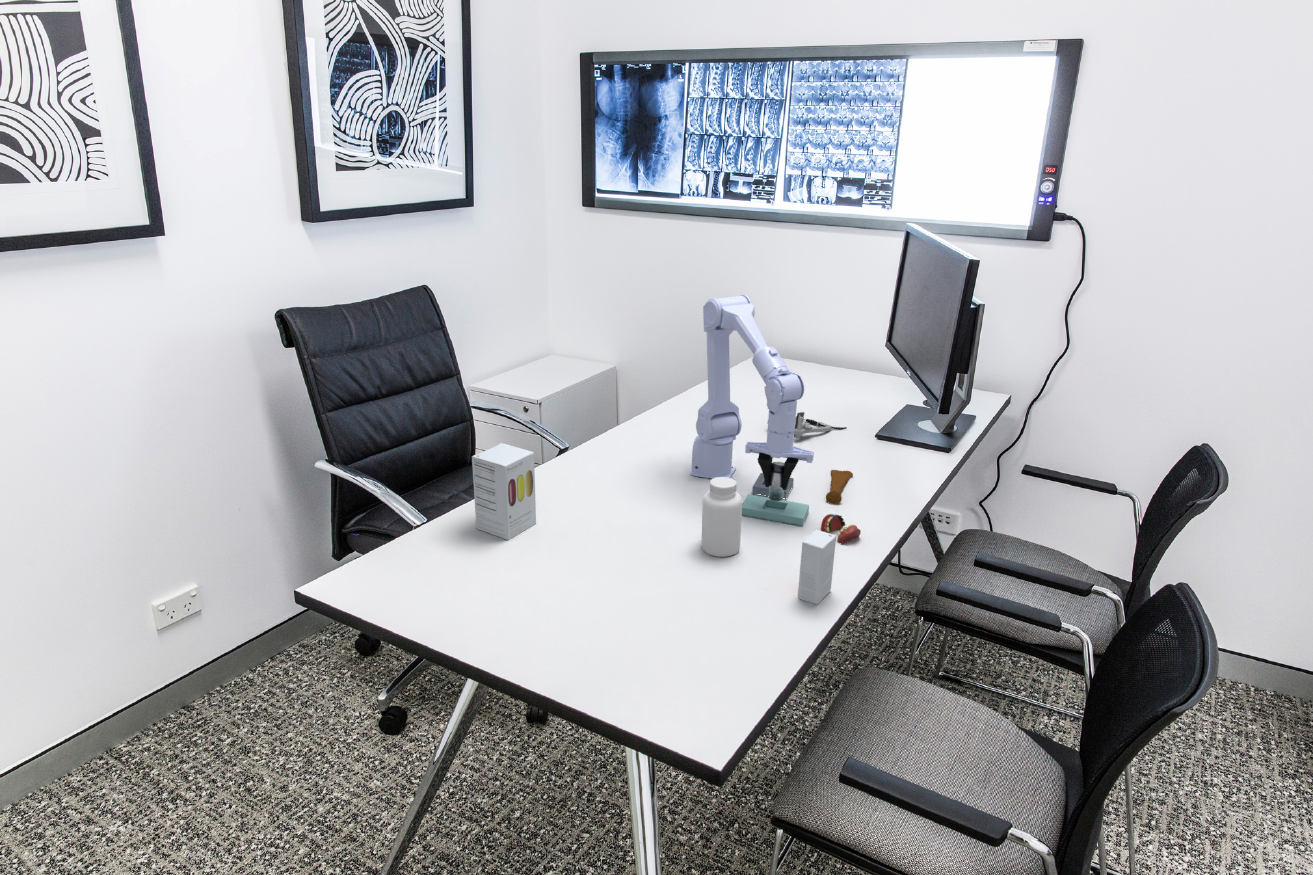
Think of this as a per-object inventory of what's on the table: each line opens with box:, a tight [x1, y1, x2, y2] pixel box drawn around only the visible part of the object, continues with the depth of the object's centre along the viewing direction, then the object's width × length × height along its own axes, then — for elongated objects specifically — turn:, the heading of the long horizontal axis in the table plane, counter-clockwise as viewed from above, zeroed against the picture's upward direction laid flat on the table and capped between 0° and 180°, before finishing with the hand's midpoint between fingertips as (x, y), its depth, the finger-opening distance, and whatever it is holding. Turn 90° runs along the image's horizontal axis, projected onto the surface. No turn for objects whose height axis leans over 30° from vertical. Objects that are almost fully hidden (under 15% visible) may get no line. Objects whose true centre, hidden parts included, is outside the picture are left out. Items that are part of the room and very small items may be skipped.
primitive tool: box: [825, 469, 854, 505], centre depth 201 cm, size 19×6×4 cm, turn 165°
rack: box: [742, 493, 810, 527], centre depth 188 cm, size 14×7×2 cm, turn 70°
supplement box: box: [471, 442, 537, 541], centre depth 177 cm, size 10×9×17 cm
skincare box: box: [797, 529, 837, 605], centre depth 156 cm, size 6×4×12 cm
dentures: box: [820, 513, 861, 545], centre depth 179 cm, size 6×4×8 cm
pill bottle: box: [701, 477, 743, 558], centre depth 171 cm, size 8×8×15 cm
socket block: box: [751, 472, 795, 500], centre depth 199 cm, size 8×8×2 cm
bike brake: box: [766, 411, 848, 439], centre depth 235 cm, size 14×7×20 cm
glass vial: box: [767, 461, 785, 501], centre depth 185 cm, size 3×3×8 cm
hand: (776, 486), depth 185 cm, fingers closed on glass vial, 3 cm apart
